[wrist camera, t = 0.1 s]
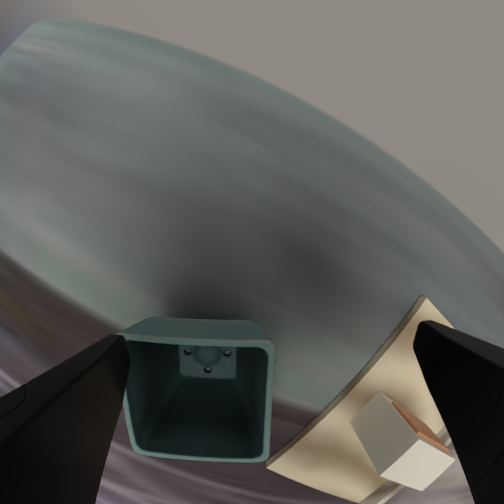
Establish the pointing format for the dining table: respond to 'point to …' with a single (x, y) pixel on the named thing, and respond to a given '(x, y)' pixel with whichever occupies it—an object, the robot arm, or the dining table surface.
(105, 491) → the dining table surface
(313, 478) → the shelf board
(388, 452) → the carton
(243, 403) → the flower pot
